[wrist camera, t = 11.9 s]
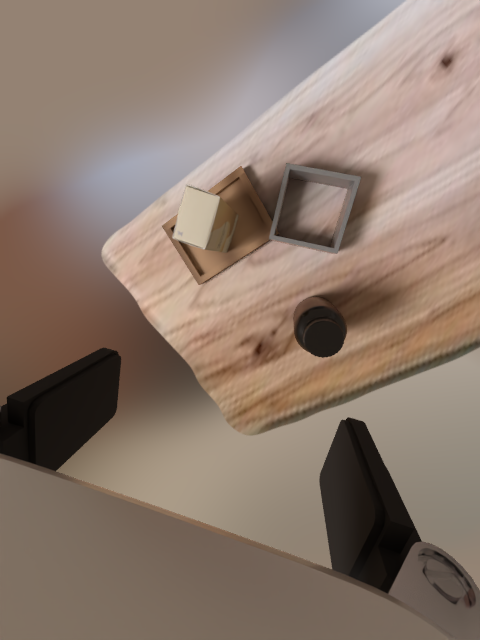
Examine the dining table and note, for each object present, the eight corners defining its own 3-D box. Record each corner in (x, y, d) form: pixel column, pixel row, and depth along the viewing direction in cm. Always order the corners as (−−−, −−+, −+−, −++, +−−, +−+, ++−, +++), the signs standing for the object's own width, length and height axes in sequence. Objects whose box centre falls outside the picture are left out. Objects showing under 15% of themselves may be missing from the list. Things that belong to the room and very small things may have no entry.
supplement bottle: (333, 292, 40) (352, 307, 29) (337, 333, 42) (357, 363, 30) (289, 299, 42) (291, 316, 30) (295, 338, 43) (299, 368, 32)
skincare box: (227, 253, 41) (204, 253, 30) (202, 244, 42) (170, 240, 30) (240, 212, 39) (221, 195, 28) (214, 203, 40) (184, 182, 28)
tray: (242, 168, 38) (241, 165, 37) (279, 234, 40) (279, 233, 38) (165, 226, 42) (161, 226, 41) (201, 284, 44) (198, 285, 42)
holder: (353, 184, 36) (361, 176, 32) (332, 253, 39) (337, 253, 35) (286, 172, 37) (286, 163, 34) (270, 240, 40) (268, 238, 36)
